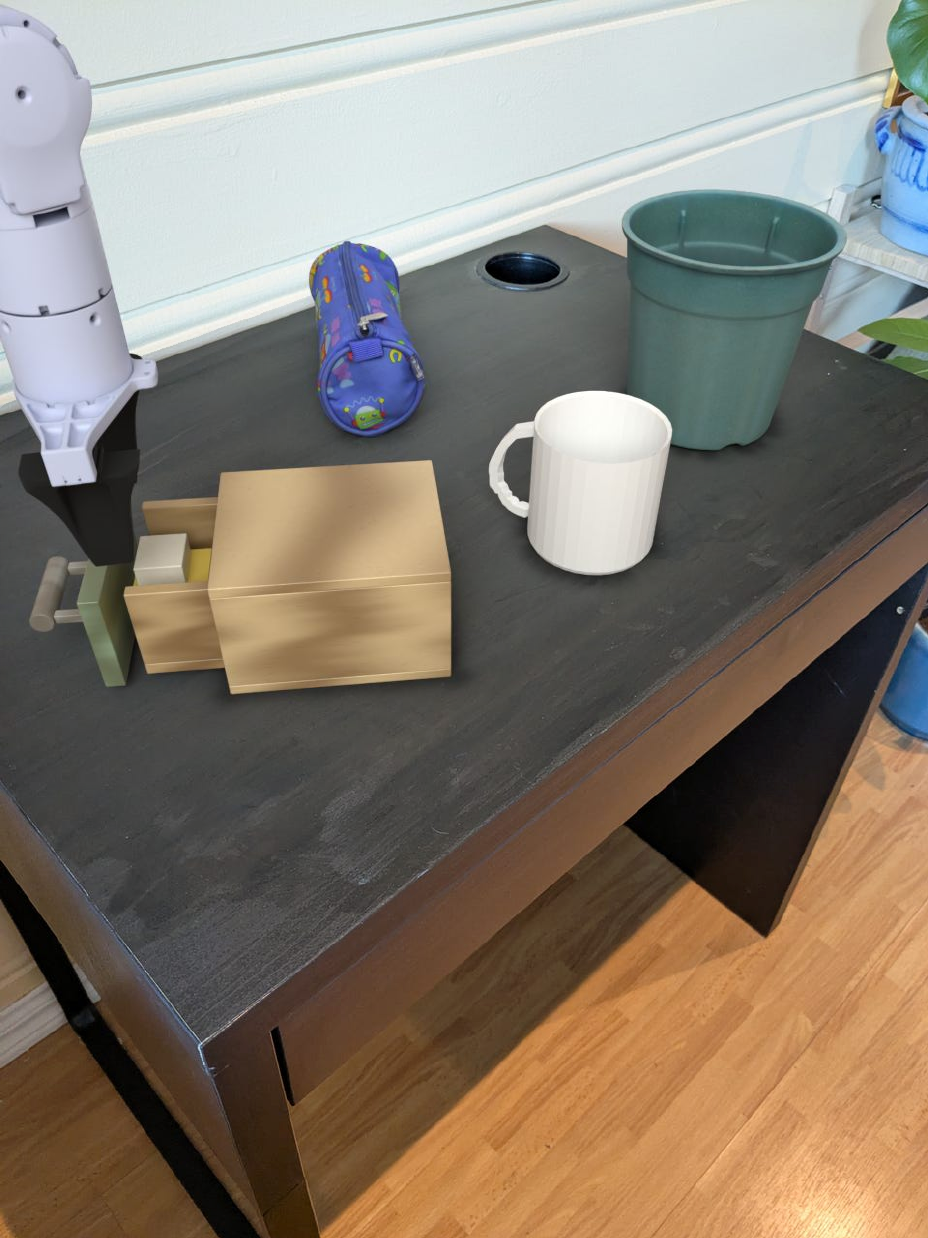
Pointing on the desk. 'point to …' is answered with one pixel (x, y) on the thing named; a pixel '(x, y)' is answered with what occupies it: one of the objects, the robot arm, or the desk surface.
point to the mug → (590, 480)
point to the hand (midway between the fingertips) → (117, 519)
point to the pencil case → (363, 341)
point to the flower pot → (721, 306)
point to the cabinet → (330, 576)
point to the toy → (170, 561)
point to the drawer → (140, 602)
